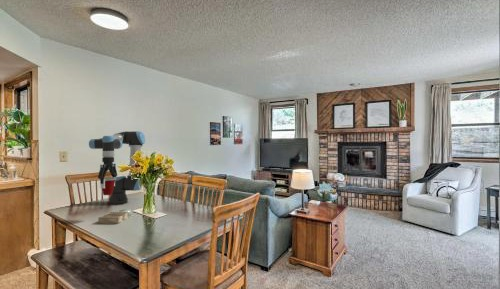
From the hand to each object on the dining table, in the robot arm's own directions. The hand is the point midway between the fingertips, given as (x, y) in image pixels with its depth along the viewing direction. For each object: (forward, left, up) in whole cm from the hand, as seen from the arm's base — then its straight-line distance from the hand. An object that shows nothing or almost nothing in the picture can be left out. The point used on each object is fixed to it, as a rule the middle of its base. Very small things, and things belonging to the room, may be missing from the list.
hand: (107, 187), depth 182 cm
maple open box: (+5, +8, -23) cm, 25 cm away
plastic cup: (0, 0, -6) cm, 6 cm away
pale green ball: (-7, +9, -23) cm, 26 cm away
